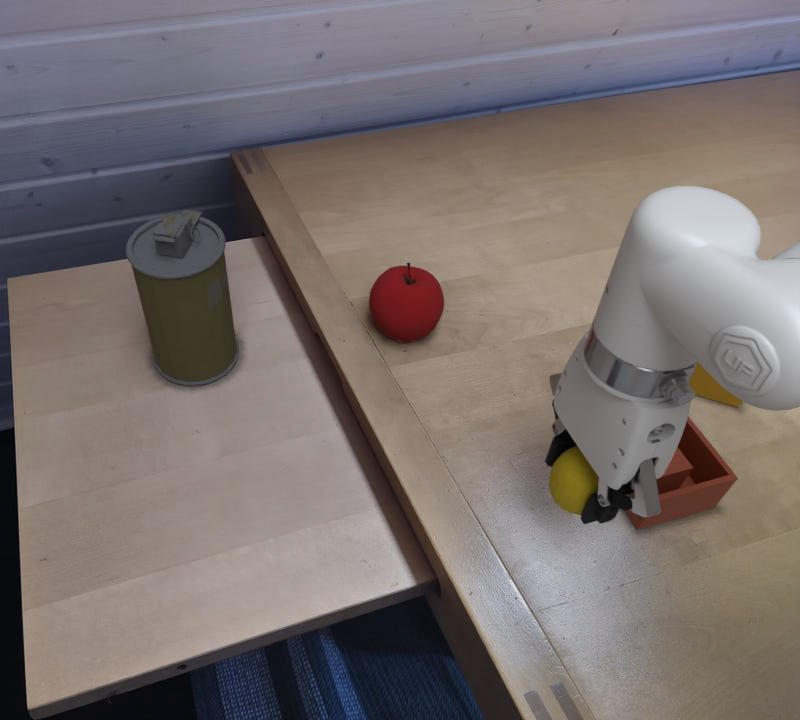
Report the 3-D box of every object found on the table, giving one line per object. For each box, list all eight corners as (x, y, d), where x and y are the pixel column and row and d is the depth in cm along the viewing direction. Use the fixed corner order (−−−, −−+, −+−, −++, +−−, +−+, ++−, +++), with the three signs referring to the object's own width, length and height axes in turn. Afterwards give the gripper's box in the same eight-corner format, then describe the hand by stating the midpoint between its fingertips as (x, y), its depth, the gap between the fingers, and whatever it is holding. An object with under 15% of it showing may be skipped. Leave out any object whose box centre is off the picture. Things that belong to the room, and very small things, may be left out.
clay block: (678, 488, 74) (693, 467, 71) (645, 498, 74) (659, 477, 71) (656, 458, 77) (669, 436, 74) (623, 467, 76) (636, 445, 73)
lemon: (540, 524, 66) (559, 475, 60) (541, 475, 69) (560, 424, 63) (602, 536, 65) (628, 487, 59) (600, 486, 68) (625, 435, 62)
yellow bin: (737, 407, 82) (760, 376, 78) (646, 379, 85) (663, 348, 81) (742, 349, 88) (763, 316, 84) (657, 324, 91) (673, 292, 87)
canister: (223, 393, 84) (202, 263, 69) (140, 378, 85) (103, 247, 70) (250, 329, 91) (237, 198, 76) (173, 316, 92) (145, 185, 77)
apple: (355, 338, 90) (358, 279, 82) (383, 294, 95) (388, 235, 88) (424, 362, 87) (434, 303, 79) (449, 316, 92) (460, 256, 85)
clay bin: (714, 507, 73) (738, 478, 69) (636, 530, 72) (656, 501, 68) (662, 437, 79) (681, 406, 75) (589, 457, 78) (604, 426, 73)
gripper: (765, 428, 47) (671, 560, 60) (619, 269, 58) (566, 409, 71) (665, 456, 45) (591, 584, 59) (536, 287, 57) (498, 427, 70)
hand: (578, 487), depth 65 cm, fingers closed on lemon, 5 cm apart
